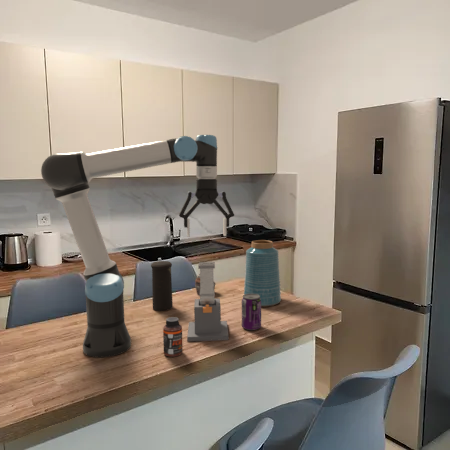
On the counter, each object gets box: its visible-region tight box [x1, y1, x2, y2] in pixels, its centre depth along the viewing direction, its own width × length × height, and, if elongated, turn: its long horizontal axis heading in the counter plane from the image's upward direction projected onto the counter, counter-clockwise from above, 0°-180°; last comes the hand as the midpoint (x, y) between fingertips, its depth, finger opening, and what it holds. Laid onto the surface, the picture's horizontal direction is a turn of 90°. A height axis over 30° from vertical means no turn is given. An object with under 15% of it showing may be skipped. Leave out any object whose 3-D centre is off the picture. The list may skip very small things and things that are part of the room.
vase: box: [243, 239, 282, 308], centre depth 176 cm, size 16×16×27 cm
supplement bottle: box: [162, 316, 183, 358], centre depth 127 cm, size 6×6×11 cm
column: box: [198, 261, 216, 306], centre depth 143 cm, size 6×6×23 cm
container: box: [150, 260, 174, 312], centre depth 170 cm, size 9×9×20 cm
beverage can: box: [241, 294, 262, 331], centre depth 148 cm, size 7×7×12 cm
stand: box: [186, 298, 229, 342], centre depth 144 cm, size 14×14×12 cm
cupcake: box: [194, 273, 216, 297], centre depth 190 cm, size 10×10×10 cm
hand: (206, 236), depth 150 cm, fingers open, 13 cm apart
